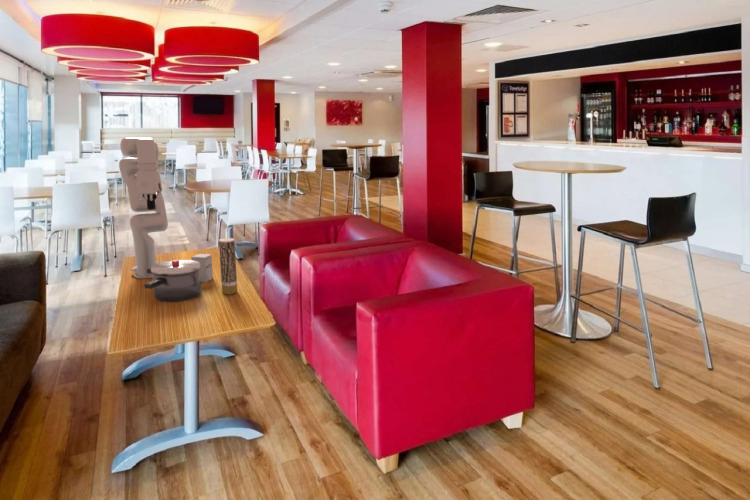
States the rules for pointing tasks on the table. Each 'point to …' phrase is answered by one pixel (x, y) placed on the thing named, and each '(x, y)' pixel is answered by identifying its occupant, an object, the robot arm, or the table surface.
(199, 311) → the table surface
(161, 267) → the cooker lid
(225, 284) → the brown cylindrical piece
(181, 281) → the pressure cooker pot
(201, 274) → the supplement box
